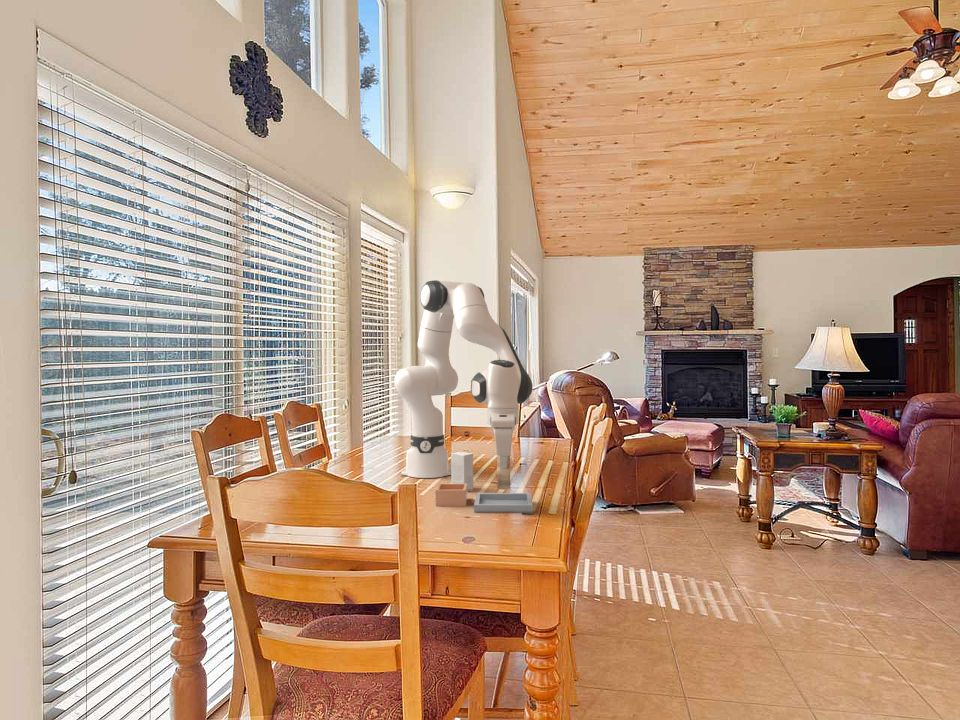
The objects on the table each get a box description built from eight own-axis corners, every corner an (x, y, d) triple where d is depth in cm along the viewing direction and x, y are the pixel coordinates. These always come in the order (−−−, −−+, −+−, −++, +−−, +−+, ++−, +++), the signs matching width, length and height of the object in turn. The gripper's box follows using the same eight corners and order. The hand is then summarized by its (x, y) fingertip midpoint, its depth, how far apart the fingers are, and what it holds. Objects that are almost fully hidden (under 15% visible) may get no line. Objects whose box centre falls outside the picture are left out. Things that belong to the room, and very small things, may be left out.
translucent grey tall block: (497, 486, 181) (497, 444, 180) (510, 486, 181) (509, 444, 180) (497, 489, 177) (497, 446, 177) (510, 489, 177) (509, 446, 177)
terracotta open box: (438, 500, 188) (438, 483, 188) (467, 500, 188) (467, 483, 188) (435, 507, 179) (435, 490, 179) (465, 507, 179) (465, 490, 179)
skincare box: (473, 491, 199) (473, 453, 199) (464, 493, 196) (464, 455, 196) (460, 488, 203) (460, 451, 203) (450, 490, 200) (450, 453, 200)
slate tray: (476, 501, 186) (476, 492, 186) (530, 501, 186) (530, 493, 186) (474, 514, 172) (474, 505, 172) (532, 514, 172) (532, 505, 172)
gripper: (492, 413, 189) (492, 459, 189) (491, 422, 168) (491, 473, 169) (513, 413, 189) (514, 459, 189) (514, 421, 168) (515, 473, 169)
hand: (503, 466), depth 179 cm, fingers closed on translucent grey tall block, 4 cm apart
